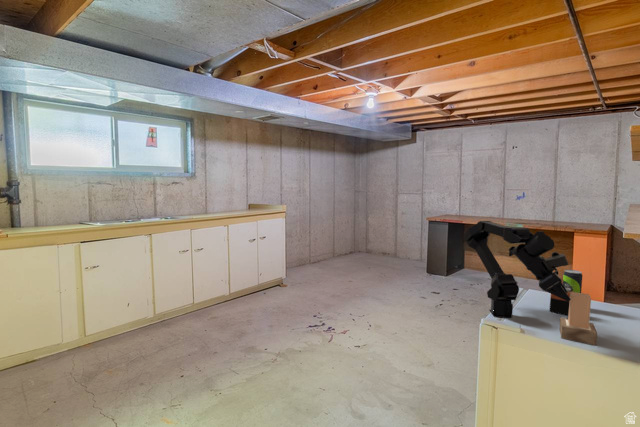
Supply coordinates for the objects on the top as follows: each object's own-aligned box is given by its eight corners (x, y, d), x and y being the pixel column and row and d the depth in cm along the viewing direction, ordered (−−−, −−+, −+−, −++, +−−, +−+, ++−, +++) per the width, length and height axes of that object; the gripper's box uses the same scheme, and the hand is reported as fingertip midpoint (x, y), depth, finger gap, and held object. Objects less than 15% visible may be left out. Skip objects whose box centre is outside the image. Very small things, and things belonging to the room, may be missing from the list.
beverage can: (582, 310, 138) (585, 273, 136) (564, 308, 140) (567, 272, 138) (576, 305, 144) (579, 270, 142) (558, 303, 146) (561, 268, 144)
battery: (570, 316, 131) (572, 290, 130) (549, 311, 136) (551, 287, 135) (572, 313, 135) (574, 288, 134) (551, 309, 139) (553, 284, 138)
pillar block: (569, 325, 113) (571, 295, 112) (567, 320, 117) (570, 291, 116) (588, 329, 110) (591, 298, 109) (586, 323, 114) (588, 294, 113)
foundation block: (561, 338, 112) (562, 326, 112) (559, 328, 120) (560, 317, 120) (596, 345, 108) (597, 332, 107) (592, 334, 115) (593, 323, 115)
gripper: (554, 249, 108) (596, 290, 103) (550, 241, 124) (586, 276, 119) (523, 270, 112) (562, 310, 108) (523, 260, 129) (557, 294, 124)
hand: (567, 296), depth 115 cm, fingers open, 9 cm apart
